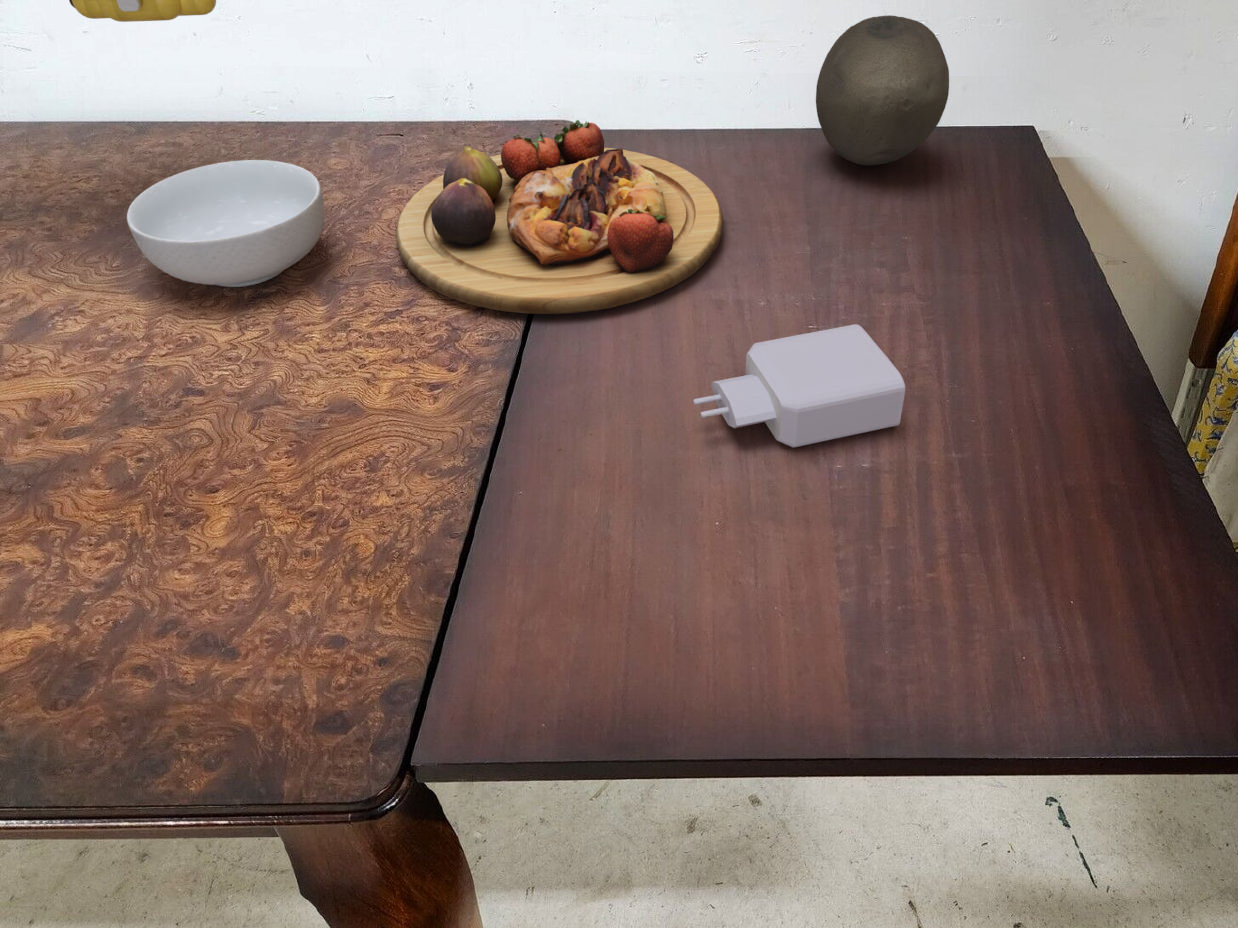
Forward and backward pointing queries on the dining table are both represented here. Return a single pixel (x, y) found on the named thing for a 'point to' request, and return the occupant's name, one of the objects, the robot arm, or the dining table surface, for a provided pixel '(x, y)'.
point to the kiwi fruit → (882, 89)
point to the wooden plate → (558, 225)
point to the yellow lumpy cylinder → (143, 9)
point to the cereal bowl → (229, 221)
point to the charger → (813, 387)
